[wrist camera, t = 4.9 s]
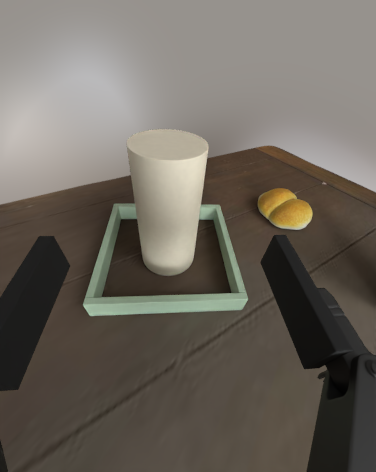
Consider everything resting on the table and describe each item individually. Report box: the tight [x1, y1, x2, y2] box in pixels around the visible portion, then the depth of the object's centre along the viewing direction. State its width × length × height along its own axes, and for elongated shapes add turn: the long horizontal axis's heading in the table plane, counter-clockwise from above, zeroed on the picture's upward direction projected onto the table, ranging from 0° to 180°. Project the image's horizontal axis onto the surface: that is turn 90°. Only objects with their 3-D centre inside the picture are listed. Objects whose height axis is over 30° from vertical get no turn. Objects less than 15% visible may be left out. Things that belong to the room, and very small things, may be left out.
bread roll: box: [258, 188, 312, 230], centre depth 35 cm, size 8×9×4 cm
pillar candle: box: [127, 129, 209, 276], centre depth 23 cm, size 7×7×15 cm
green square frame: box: [83, 204, 248, 316], centre depth 27 cm, size 17×17×2 cm
